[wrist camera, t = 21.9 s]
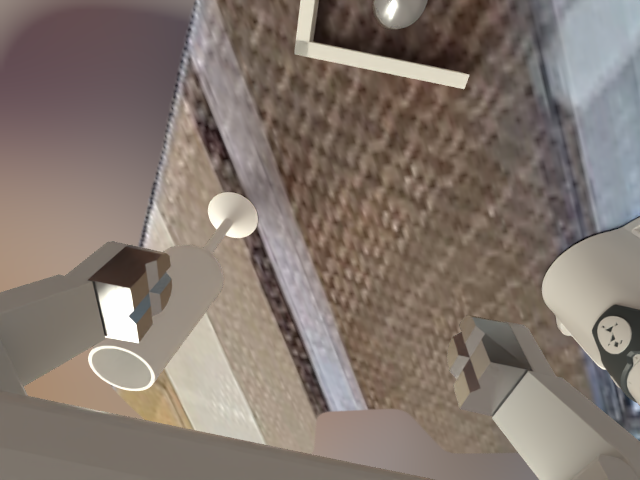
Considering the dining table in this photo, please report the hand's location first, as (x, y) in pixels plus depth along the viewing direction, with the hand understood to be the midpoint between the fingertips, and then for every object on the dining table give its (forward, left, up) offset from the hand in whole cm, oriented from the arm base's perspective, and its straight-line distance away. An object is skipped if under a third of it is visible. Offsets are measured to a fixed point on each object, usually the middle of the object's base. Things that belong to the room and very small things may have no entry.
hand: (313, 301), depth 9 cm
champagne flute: (+12, +16, -31) cm, 37 cm away
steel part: (-2, -9, -31) cm, 33 cm away
